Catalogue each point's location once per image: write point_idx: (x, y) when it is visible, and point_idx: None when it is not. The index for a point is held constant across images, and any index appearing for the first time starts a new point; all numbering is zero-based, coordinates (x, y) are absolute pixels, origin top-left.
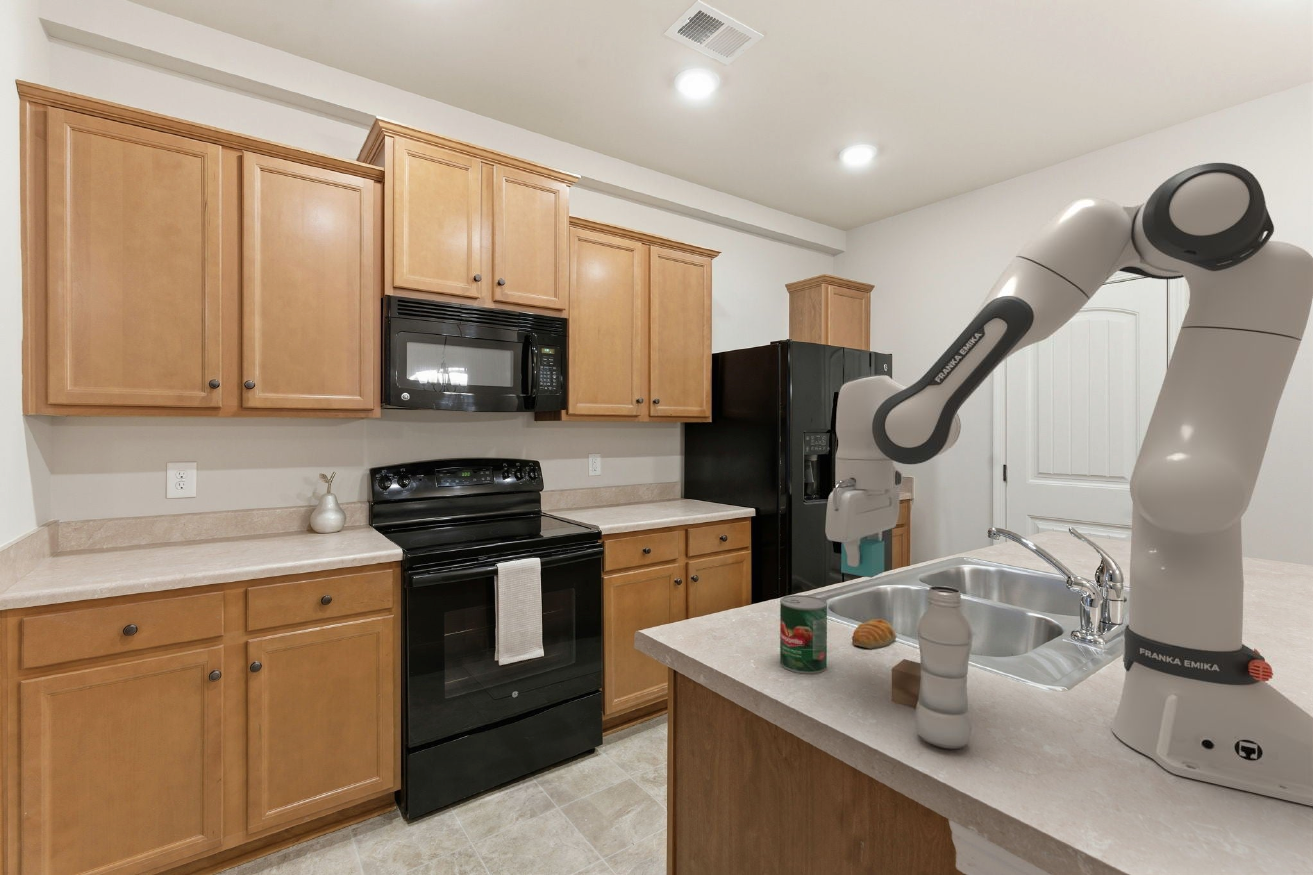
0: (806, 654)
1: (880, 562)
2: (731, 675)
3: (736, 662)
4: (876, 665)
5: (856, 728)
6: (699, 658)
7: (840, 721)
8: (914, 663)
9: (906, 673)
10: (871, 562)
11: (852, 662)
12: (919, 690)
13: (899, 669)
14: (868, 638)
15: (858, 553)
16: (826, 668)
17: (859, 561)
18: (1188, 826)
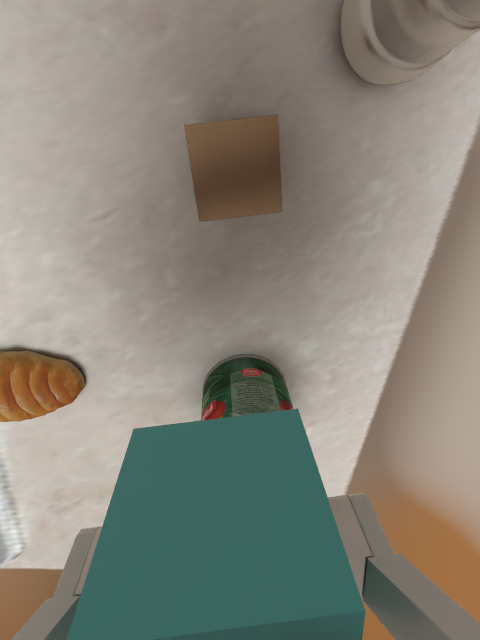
0: (282, 387)
1: (179, 472)
2: (364, 426)
3: (316, 450)
4: (133, 309)
5: (423, 190)
6: (341, 484)
7: (413, 225)
8: (207, 186)
9: (279, 172)
10: (319, 476)
11: (161, 345)
12: (452, 47)
13: (275, 194)
14: (61, 375)
15: (401, 569)
16: (228, 358)
17: (357, 515)
18: None
